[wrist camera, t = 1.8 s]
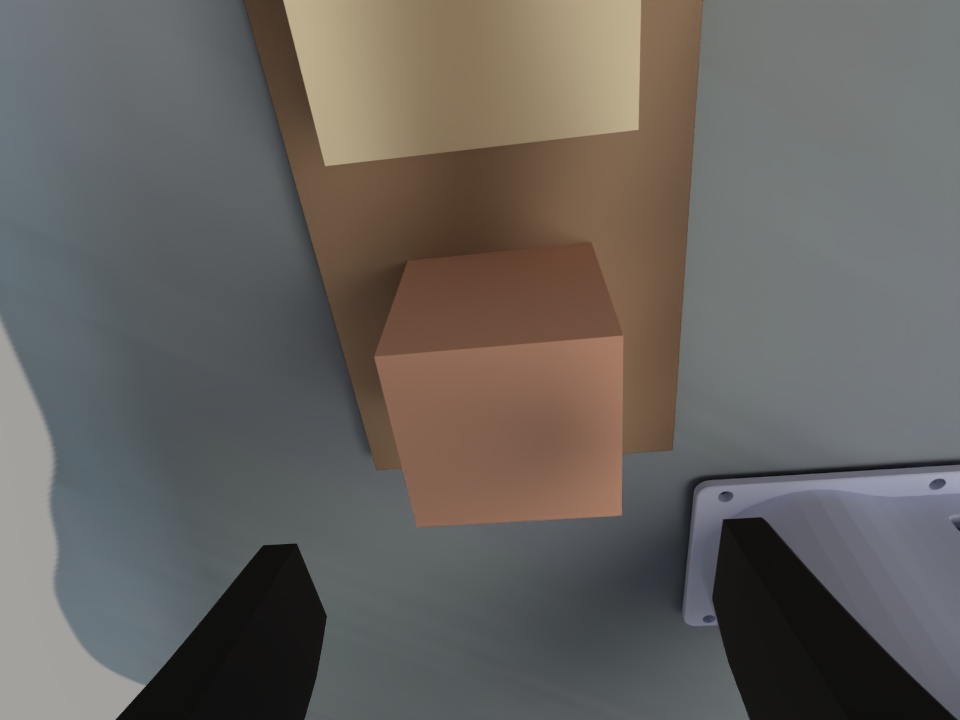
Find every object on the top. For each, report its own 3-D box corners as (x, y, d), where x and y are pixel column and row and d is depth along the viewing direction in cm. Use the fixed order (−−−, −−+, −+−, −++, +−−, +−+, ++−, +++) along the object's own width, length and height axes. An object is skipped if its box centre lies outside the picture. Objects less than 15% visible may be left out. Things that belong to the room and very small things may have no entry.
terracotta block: (591, 242, 16) (623, 335, 12) (594, 394, 18) (621, 515, 14) (407, 261, 16) (373, 356, 12) (436, 406, 19) (417, 527, 15)
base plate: (713, -336, 11) (727, -357, 10) (667, 434, 20) (672, 450, 20) (191, -239, 12) (172, -253, 11) (380, 454, 21) (376, 470, 20)
